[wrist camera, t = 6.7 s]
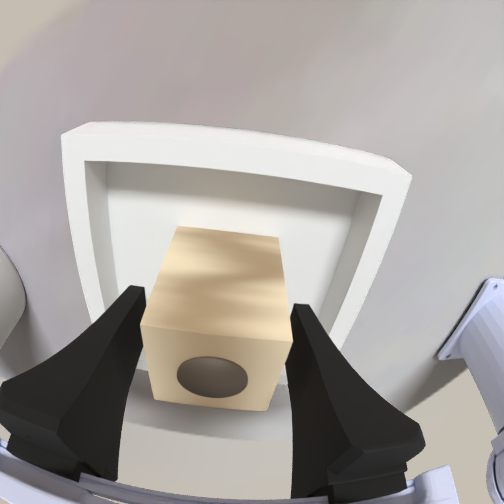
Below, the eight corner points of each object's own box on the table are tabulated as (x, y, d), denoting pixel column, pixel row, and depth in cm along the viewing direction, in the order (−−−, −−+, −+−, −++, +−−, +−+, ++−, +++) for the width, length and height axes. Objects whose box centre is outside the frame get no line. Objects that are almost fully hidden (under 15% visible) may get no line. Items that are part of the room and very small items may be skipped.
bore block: (278, 237, 14) (293, 345, 9) (262, 310, 16) (266, 414, 11) (177, 225, 14) (138, 328, 8) (177, 300, 16) (153, 402, 11)
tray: (386, 156, 12) (412, 176, 10) (314, 353, 19) (320, 384, 17) (90, 121, 11) (61, 135, 9) (115, 332, 18) (104, 362, 16)
